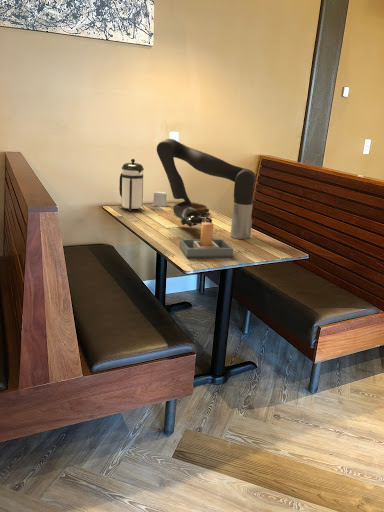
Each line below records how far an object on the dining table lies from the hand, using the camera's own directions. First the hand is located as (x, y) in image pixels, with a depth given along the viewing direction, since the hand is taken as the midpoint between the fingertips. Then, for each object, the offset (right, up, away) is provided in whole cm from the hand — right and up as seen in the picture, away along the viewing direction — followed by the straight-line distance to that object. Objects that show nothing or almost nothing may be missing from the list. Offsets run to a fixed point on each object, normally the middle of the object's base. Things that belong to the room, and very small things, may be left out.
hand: (200, 224), depth 189 cm
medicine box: (-24, +18, +78) cm, 84 cm away
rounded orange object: (+2, -12, -7) cm, 14 cm away
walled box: (+2, -13, -7) cm, 15 cm away
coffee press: (-41, +14, +64) cm, 77 cm away
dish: (-4, +11, +64) cm, 65 cm away
